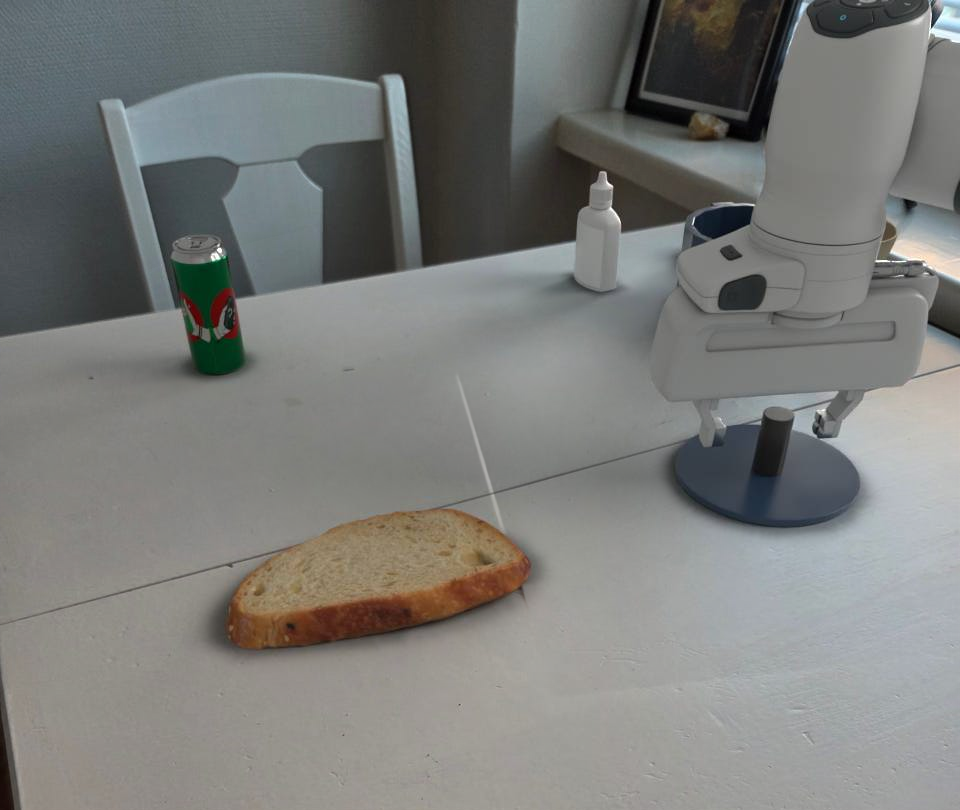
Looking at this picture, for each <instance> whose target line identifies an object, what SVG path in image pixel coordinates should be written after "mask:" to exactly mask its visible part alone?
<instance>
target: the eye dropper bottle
mask: <svg viewBox="0 0 960 810" xmlns="http://www.w3.org/2000/svg"><path fill="white" fill-rule="evenodd" d="M613 194H614V185H612V184H611V183H609V182H608V177H607V171H605V170H604V171H603V170H601V171H599V173H598V176H597V180H596V182H594V183H592V184H591V185H590V187H589V201H588V205H587V206H584V207H582V208H581V209H580V210H579V212H578V214H577V219H576V232H575V233H576V234H575V248H574V249H575V251H574V265H573V279H574V280H575V281H576V282H577V283H578V285H581V286H582V287H584V288H587V289H589V290H591V291H594V292H598V293H605V292H609V291H612V290H615V289H616V288H617V278H618V269H619V257H620V247H621V246H620V244H621V235H622V234H621V233H622V224H621V219H620V217H619V215H618V214H617V212H616V211H615V210H614V209H613V208H612V206H613V196H614V195H613Z"/></svg>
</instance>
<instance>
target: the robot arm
mask: <svg viewBox="0 0 960 810" xmlns="http://www.w3.org/2000/svg"><path fill="white" fill-rule="evenodd" d="M931 24H932V5H931V3H930V1H929V0H812V1H810V2H809V3H808V4H807V5H806V7H805V8H804V9H803V11H802V13H801V15H800V17H799V20H798V22H797V24H796V27H795V29H794V31H793V34H792V37H791V39H790V42H789V45H788V48H787V52H786V54H785V57H784V61H783V65H782V67H781V71H780V74H779V79H778V82H777V86H776V90H775V94H774V99H773V103H772V107H771V112H770V117H769V121H768V126H767V131H766V137H765V141H764V148H763V156H764V166H765V167H764V169H765V171H764V180H763V184H762V188H761V191H760V193H759V196H758V197H757V199H756V201H755V203H754V204H755V206H754V209H753V212H752V217H751V222H750V225H747V226H745V227H743V228H741V229H739V230H736V231H734V232H732V233H729V234H727V235H724V236H722V237H719V238H717V239H714V240H712V241H709V242H706V243H703V244H701V245H698V246H695V247H692V248H690V249H687V250H685V251H684V252H682V253H681V252H680V253H679V255H678V257H677V260H676V265H675V275H676V278H677V280H679V282H680V284H681V287H679V288H678V289H675V290H674V291H673V292H671V293H670V295H669V296H668V297H667V299H666V301H665V302H664V304H663V306H662V309H661V312H660V315H659V318H658V321H657V326H656V330H655V334H654V337H653V338H654V339H653V342H652V348H651V354H650V360H649V370H648V371H649V376H650V379H651V382H652V384H653V386H654V388H656V390H657V392H658V393H659V394H660V395H661V396H662V397H663V399H664V400H665V401H667V402H668V403H678V402H679V403H680V402H681V403H682V402H692V403H693V405H694V407H695V409H696V412H697V414H698V416H699V418H700V420H701V421H700V427H699V432H698V434H699V438H700V441H701V443H702V445H703V446H704V447H717V446H723V445H724V439H723V438H724V437H725V436H726V431H727V428H726V426H727V425H725V423H723V420H722V418H721V417H720V416H719V417H718V416H717V417H714V416H712V413H711V411H717V409H718V408H719V407H718V406H719V401H720V400H725V399H738V398H739V399H740V398H753V397H754V398H755V397H770V396H782V395H797V394H811V393H812V394H813V393H814V394H815V393H829V392H838V393H837V394H836V395H835V396H834V398H833V399H832V400H831V402H830V403H829V404H828V405H827V406H826V408H825V409H817V410H815V412H814V413H815V414H814V421H813V422H812V425H811V429H812V430H811V431H812V434H814V435H816V438H818V439H820V440H825V439H837V438H838V437H839V435H840V431H841V427H842V423H843V421H844V420H846V419H847V417H849V415H851V414H852V412H853V411H854V410H855V409H856V408H857V407H858V406H859V405H860V403H862V401H863V400H864V397H865V393H866V391H867V390H869V389H871V390H873V389H885V388H886V389H888V388H889V389H890V388H900V387H903V386H905V385H906V384H907V383H908V382H909V381H911V379H912V378H914V376H916V374H917V372H918V369H919V366H920V363H921V360H922V353H923V352H924V351H923V350H924V345H925V340H926V334H927V327H928V322H929V311H930V310H931V308H932V306H933V303H934V301H935V298H936V294H937V291H938V288H939V285H940V283H939V282H940V279H939V276H938V272H937V271H936V269H935V268H934V267H933V266H930V265H928V264H927V262H926V261H925V260H924V259H919V258H918V259H917V258H912V259H905V260H902V261H901V260H900V261H899V260H898V261H896V260H885V261H876V259H877V256H878V252H879V249H880V245H881V241H882V238H883V234H884V230H885V226H886V220H887V203H888V202H887V201H888V196H889V195H890V196H893V197H897V198H901V199H904V200H909V201H912V202H916V203H920V204H924V205H929V206H931V207H932V206H933V207H937V208H941V209H945V210H948V211H952V212H955V214H956V215H958V216H960V41H957V40H956V41H955V40H952V39H951V38H946V37H940V36H936V35H935V34H934V33H933V32H931Z"/></svg>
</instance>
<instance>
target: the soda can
mask: <svg viewBox="0 0 960 810" xmlns="http://www.w3.org/2000/svg"><path fill="white" fill-rule="evenodd" d="M170 262H171V267H172V272H173V277H174V281H175V286H176V290H177V291H176V292H177V295H178V300H179V304H180V305H179V306H180V309H181V314H182V320H183V325H184V329H185V334H186V338H187V343H188V347H189V348H188V349H189V353H190V358H191V362H192V366H193V368H195V370H197V371H198V372H199V373H201V374H204V375H209V376H221V375H222V376H223V375H227V374H231V373H234V372H237V371H238V370H240V369H241V368H242V367H243V366H244V364H245V363H246V359H247V357H246V353H245V346H244V341H243V335H242V329H241V323H240V316H239V312H238V306H237V305H238V304H237V299H236V295H235V288H234V282H233V277H232V272H231V271H232V269H231V266H230V265H231V264H230V259H229V252H228V250H227V249H226V248H225V247H224V246H223V245H222V240H221V238H220V237H218V236H215V235H211V234H191V235H190V234H189V235H187V236H182V237H180V238H178V239H176V240H174V241H173V242H172V252H171V255H170Z"/></svg>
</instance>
